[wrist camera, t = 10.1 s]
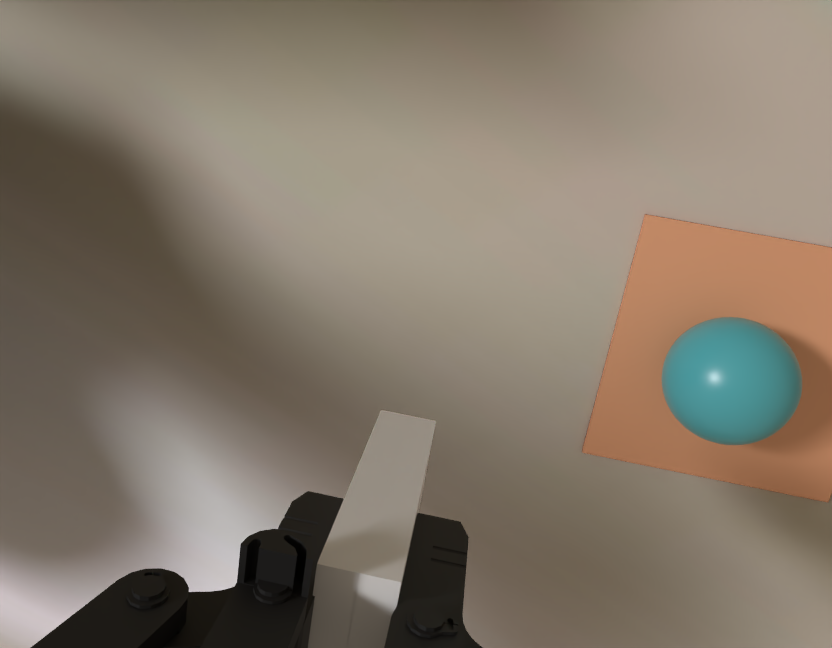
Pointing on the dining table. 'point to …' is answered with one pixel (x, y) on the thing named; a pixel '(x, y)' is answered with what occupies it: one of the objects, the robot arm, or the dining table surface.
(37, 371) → the dining table surface
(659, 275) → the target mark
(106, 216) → the dining table surface
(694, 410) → the ball
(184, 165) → the dining table surface
